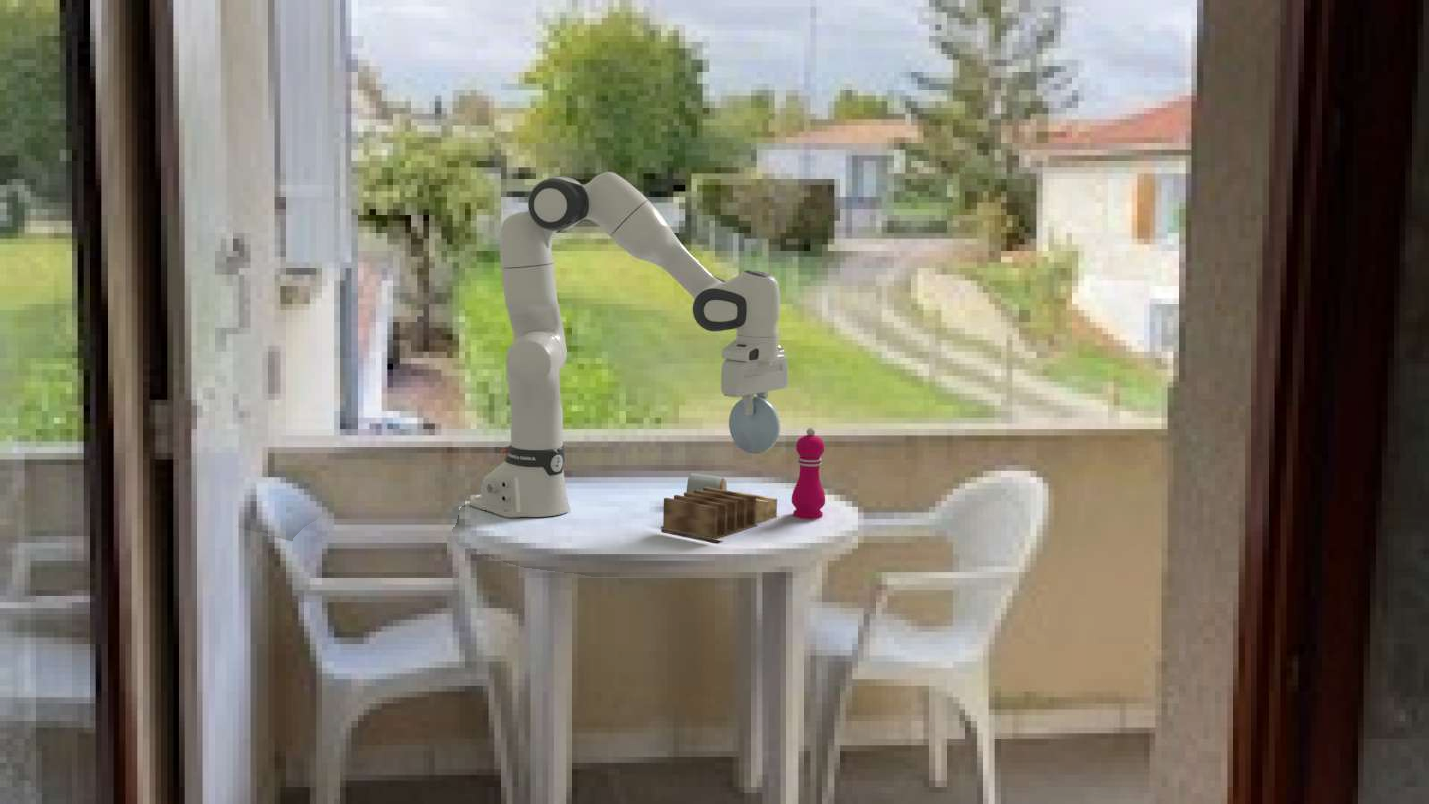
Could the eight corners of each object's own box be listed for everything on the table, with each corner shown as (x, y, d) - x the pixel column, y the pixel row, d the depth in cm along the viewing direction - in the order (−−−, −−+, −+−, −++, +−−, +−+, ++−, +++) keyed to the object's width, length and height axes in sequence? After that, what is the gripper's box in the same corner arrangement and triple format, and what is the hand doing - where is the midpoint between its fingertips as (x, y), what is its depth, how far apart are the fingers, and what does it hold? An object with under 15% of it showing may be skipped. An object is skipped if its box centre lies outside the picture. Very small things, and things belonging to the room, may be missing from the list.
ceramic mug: (722, 513, 318) (723, 478, 317) (685, 510, 319) (685, 476, 318) (728, 503, 328) (729, 469, 327) (692, 501, 329) (693, 467, 328)
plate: (727, 449, 313) (730, 393, 311) (732, 448, 314) (734, 392, 312) (774, 457, 306) (777, 401, 304) (778, 456, 307) (781, 400, 305)
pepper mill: (783, 519, 314) (786, 427, 311) (806, 514, 319) (809, 423, 316) (809, 525, 309) (812, 432, 306) (831, 520, 314) (835, 428, 311)
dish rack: (661, 532, 300) (661, 497, 299) (702, 519, 312) (703, 486, 311) (716, 543, 292) (717, 508, 291) (757, 530, 304) (758, 496, 303)
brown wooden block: (724, 518, 313) (725, 495, 312) (740, 513, 318) (741, 491, 317) (763, 526, 307) (764, 502, 306) (779, 520, 312) (780, 498, 311)
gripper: (772, 343, 317) (769, 406, 319) (716, 351, 300) (714, 417, 303) (796, 346, 313) (793, 410, 315) (741, 354, 297) (739, 421, 299)
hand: (754, 413), depth 309 cm, fingers closed on plate, 2 cm apart
